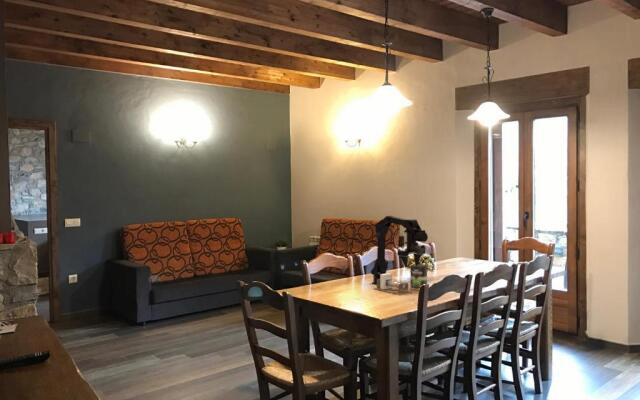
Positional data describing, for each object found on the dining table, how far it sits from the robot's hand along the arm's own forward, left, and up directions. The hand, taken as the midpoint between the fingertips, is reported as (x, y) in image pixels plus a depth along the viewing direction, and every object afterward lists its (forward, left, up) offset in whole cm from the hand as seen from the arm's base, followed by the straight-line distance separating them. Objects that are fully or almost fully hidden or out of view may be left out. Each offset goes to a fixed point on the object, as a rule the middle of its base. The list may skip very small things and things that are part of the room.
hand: (411, 266), depth 318 cm
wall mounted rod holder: (-6, -10, -15) cm, 19 cm away
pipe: (-6, -10, -15) cm, 19 cm away
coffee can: (-2, +9, -15) cm, 18 cm away
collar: (-11, -10, -15) cm, 21 cm away
